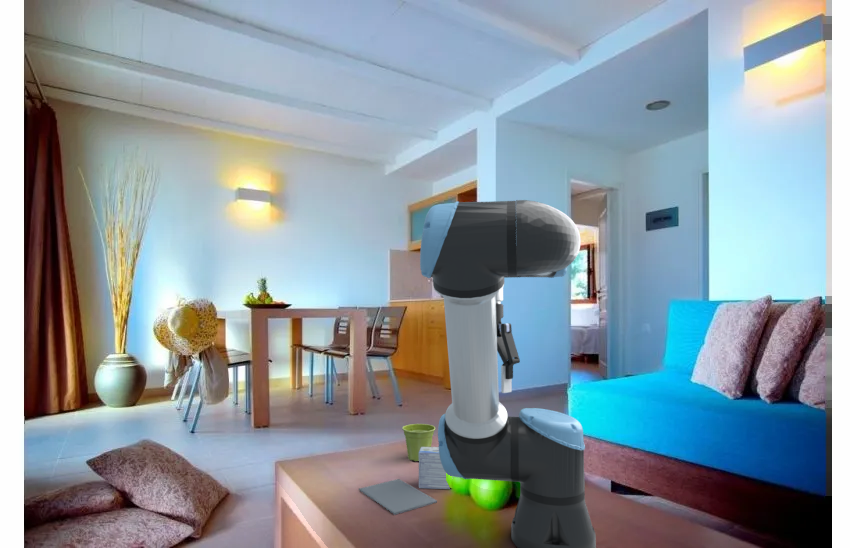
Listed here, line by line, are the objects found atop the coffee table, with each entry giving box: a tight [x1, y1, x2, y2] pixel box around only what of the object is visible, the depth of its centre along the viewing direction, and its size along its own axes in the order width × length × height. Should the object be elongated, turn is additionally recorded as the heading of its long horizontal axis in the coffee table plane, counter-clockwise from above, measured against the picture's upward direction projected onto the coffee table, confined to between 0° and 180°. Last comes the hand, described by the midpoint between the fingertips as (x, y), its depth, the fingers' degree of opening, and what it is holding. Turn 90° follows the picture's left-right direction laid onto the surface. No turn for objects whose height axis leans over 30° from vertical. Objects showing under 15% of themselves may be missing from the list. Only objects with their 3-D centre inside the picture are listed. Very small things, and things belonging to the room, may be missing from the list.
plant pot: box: [401, 423, 436, 462], centre depth 137 cm, size 9×9×9 cm
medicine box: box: [418, 446, 451, 490], centre depth 116 cm, size 8×4×9 cm, turn 84°
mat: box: [358, 478, 438, 516], centre depth 110 cm, size 16×11×1 cm
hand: (489, 388), depth 122 cm, fingers open, 12 cm apart
